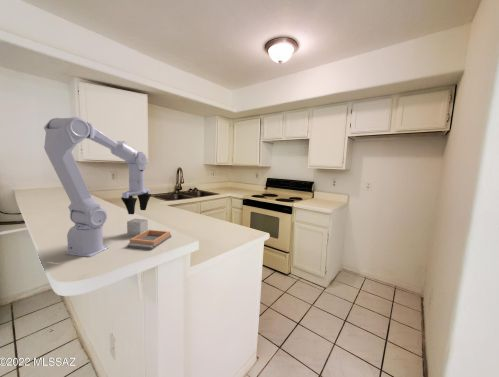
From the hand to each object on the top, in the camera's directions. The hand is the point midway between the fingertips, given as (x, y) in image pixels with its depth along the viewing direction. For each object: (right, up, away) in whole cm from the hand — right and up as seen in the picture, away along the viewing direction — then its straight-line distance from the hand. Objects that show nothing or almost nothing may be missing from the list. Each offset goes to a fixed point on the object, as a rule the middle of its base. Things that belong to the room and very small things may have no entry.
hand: (137, 212), depth 88 cm
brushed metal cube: (0, -10, +1) cm, 10 cm away
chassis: (+9, -11, -7) cm, 16 cm away
